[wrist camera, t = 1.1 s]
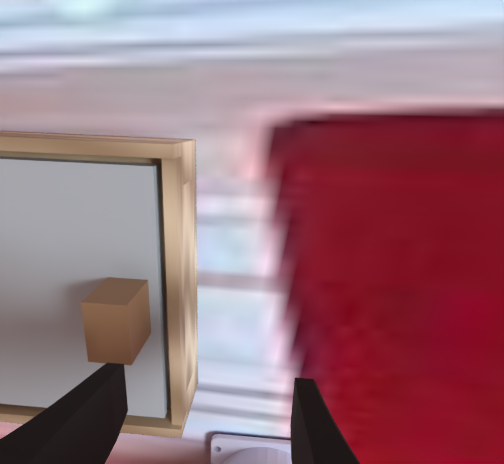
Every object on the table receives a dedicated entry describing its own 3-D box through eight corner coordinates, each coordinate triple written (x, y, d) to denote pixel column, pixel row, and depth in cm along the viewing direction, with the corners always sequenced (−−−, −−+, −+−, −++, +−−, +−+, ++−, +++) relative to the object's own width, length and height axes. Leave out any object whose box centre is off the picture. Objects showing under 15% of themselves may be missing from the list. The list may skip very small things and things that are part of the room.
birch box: (197, 383, 23) (181, 438, 19) (0, 366, 24) (-57, 416, 20) (195, 139, 19) (172, 144, 14) (-52, 128, 19) (-140, 130, 15)
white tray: (170, 404, 20) (149, 459, 17) (-41, 386, 21) (-100, 435, 18) (160, 164, 16) (129, 174, 13) (-103, 151, 17) (-197, 157, 13)
